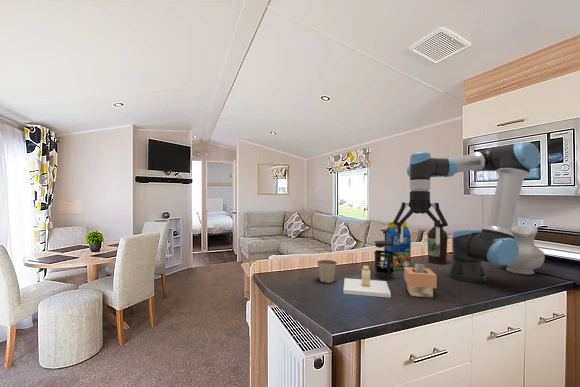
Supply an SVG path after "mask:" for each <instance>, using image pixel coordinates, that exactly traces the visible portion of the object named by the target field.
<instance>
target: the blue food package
mask: <svg viewBox="0 0 580 387" xmlns="http://www.w3.org/2000/svg"><path fill="white" fill-rule="evenodd" d="M401 226H403V243H401V242H400V234H398V233H397V225H394V224H393V221H391V222H389V221H388V222H387V228H386V230H389V231H385V234H384V241H390V242H394V244H393V247H391V246H384V247H383V251H390V252H393V253H394V256H393V271H399V270H400V271H402V270H403V271H404V267H411V258H412V257H411V256H412V255H411V249H412V248H411V246H412V244H411V243H412V241H411V239H412V238H411V236H412V235H411V232H410V229H409V228H408V222H407V221H405V222H404V223H403V224H402V225H401ZM383 254H386V253H383ZM383 261H385V262H387V257H383ZM384 268H387V267H384Z"/></svg>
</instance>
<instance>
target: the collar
mask: <svg viewBox="0 0 580 387" xmlns="http://www.w3.org/2000/svg"><path fill="white" fill-rule="evenodd" d="M437 277H438V275H437V274H436V273H435V272H434V271H433V270H432V269H431V268H427V267H424V273H416V272H415V267H411V266H410V267H404V270H403V279H404V281H405V283H406V285H407V284H408V286H411V287H425V288H433V289H437V288H438V287H437V280H438V278H437Z"/></svg>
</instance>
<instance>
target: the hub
mask: <svg viewBox="0 0 580 387" xmlns="http://www.w3.org/2000/svg"><path fill="white" fill-rule="evenodd" d="M343 294H344V295H354V296H367V297H380V298H389V299H390V298H392V296H391V295H392V294H391V290H390V288H389V285H388V283H387V280H375V279H371V269H370V266H369V265H363V266H362V268H361V279H360V278H359V279H358V278H347V277H344V282H343Z"/></svg>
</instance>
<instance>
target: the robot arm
mask: <svg viewBox="0 0 580 387" xmlns="http://www.w3.org/2000/svg"><path fill="white" fill-rule="evenodd" d="M540 163H541V154H540V151H539V150H538V147H537V146H536V145H535V144H533V143H532V142H528V141H523V142H514V143H510V144H505V145H498V146H493V147H490V148H486V149H482V150H479V151H478V150H477V151H474V152H471V153H470V154H467V155H458V156H453V157H444V158H441V157H440V158H439V157H438V158H437V157H434V158H433V157H431V153H430V152H428V151H416V152H413V153H411V154H410V156H409V164H408V166H407V168H406V173H407V175H408V177H409V190H410V191H409V201H408V202H404V201H402V202H400V208H399V209H398V211H397V214H396V216H395V217H394V219H393V221H392V222H393V224H394V225H397V233H398V234H400V242H401V243H403V226H401V225H402V224H403V223H404V222H407V220H408V219H409V218H411V216H412V215H413V214H426V215H427V216H428V217H429V218H430V219H431V220H432V221H433V223H434V222H435V223H436V225H437V226H438V227H436V244H440V236H442V234H443V230H444V228H445V227H448V226H449V224H448V222H447V220H446V218H445V216H444V215H443V213H442V211H441V209H440V203H439V202H433V203H431V192H430V190H431V178H438V177H439V178H440V177H441V178H442V177H443V178H448V177H449V178H451V177H453V176H455V174H457V173H463V172H471V171H472V172H476V173H477V172H496V173H497V174H498V180H497V183H496V186H495V187H496V188H495V192H494V196H493V199H492V203H491V207H490V213H489V216H488V219H487V224H486V226H484V227H483V228H481V230H480V229H469V230H468V229H462V230H461V229H458V230H455V231H453V233H452V261H451V263H450V267H449V268H448V271H447V272H448V277H449V278H451V279H453V280H458V281H461V282H468V283H484V282H486V280H487V278H486V277H487V276H486V273H485V270H484V268H483V265H482V261H484V262H488V263H490V264H493V265H498V266H499V265H501V266H506V265H507V264H509V263H510V262H513V261H514V260H515V258H516V257H517V255H518V252H519V247H518V244H517V242H516V241H515V240H514V235H513V234H512V232H511V230H512V229H513V224H514V221H515V215H516V211H517V207H518V203H519V199H520V196H521V191H522V187H523V183H524V179H525V178H526V177H528V176H530V172H531V170H533V169H536V168H537V167H538V166H539V164H540ZM408 207H409V208H410V209H409V210H408V212H406V214H405V215H404V216H403V217H402V218H401V216H402V215H403V213H404V210H405V209H406V208H408ZM431 208H433V209H434V211H435V213H436V214H437V216H438V218H437V217H436V216H435V214H433V213H432V211H431V210H430V209H431ZM438 220H440V222H439V221H438Z"/></svg>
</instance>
